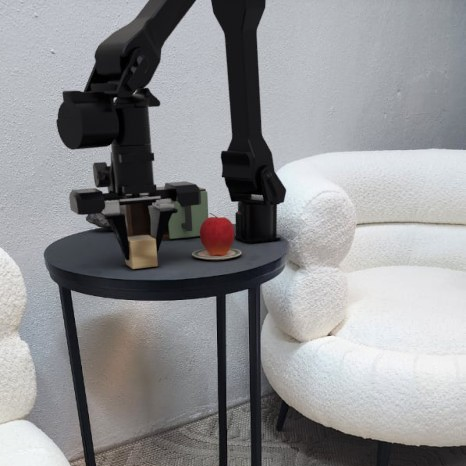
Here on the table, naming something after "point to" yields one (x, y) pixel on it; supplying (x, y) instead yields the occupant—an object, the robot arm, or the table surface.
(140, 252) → the block
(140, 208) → the cabinet
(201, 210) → the sliding door
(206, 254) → the apple
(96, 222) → the rock
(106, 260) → the table surface
